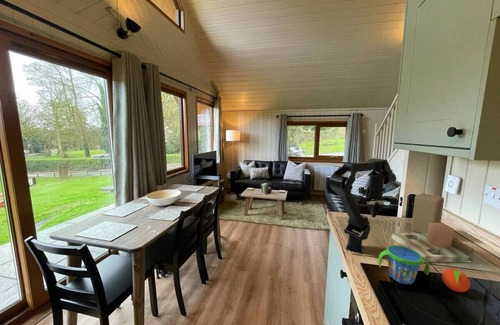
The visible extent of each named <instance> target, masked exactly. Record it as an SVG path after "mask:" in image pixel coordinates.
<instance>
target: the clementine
mask: <svg viewBox="0 0 500 325" xmlns="http://www.w3.org/2000/svg"><path fill="white" fill-rule="evenodd" d="M441 278H442V281H443V283H444V285H445V286H446V287H447V288H449V289H450V290H452V291H453V292H457V293H464V292H467V291H468V290H470V287H471V280H470V278H469V277H468V276H467V275H466V274H465V273H464V272H462V271H461V270H460V269H456V268H447V269H445V270H444V271H443V272H442V275H441Z"/></svg>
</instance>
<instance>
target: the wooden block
mask: <svg viewBox="0 0 500 325" xmlns="http://www.w3.org/2000/svg"><path fill="white" fill-rule="evenodd" d="M444 203H445V198H444V197H443V196H438V195H432V194H428V193H424V192H423V193H420V194H417V195H415V197H414V204H413V209H412V210H413V212H412V220H411V227H410V228H411V231H413V232H415V233H417V234H428V227H429V223H442V217H443V209H444Z"/></svg>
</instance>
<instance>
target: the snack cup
mask: <svg viewBox="0 0 500 325" xmlns="http://www.w3.org/2000/svg"><path fill="white" fill-rule="evenodd" d="M384 256H387V260H388V261H387V263H388V264H387V265H388V275H389V276H390V278H392V279H393V281H396V282H398V284H402V285H403V284H404V285H410V286H412V284H413V283H414V282H415V281H416V277H417V275H418V272H419V269H420V267H421V265H422V264H423V260H424V261H425V262H424V263H425V266H424V269H423V272H424V274H425V276H429V274H430V268H431V267H430V264H429V262H427V260H426V259H425V258H424V257H422V256H421V255H420V254H419V253H417V252H416V251H414V250H411V249H409V248H406V247H403V246H402V245H388V246H387V248H386V249H384V250H383V251H381V252H380V254H379V255H378V258H377V264H378V266H379V268H382V260H383V257H384Z"/></svg>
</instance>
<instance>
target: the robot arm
mask: <svg viewBox="0 0 500 325" xmlns="http://www.w3.org/2000/svg"><path fill="white" fill-rule="evenodd" d="M368 171H370V172H369V173H367V176H368V177H369V185H367V186H366V188H365V187H364V186H362V187H361V186H360V187H358V195H356V194H355V195H353V194H352V190H353V184H354V183H355V182H356V174H357V173H361V172H368ZM347 172H348V173H349V174H350V175H349V176H344V175H345V174H346V173H347ZM396 181H397V176H396V174H395V173H394V172H393V169H391V165H390V163H389V162H388V160H387V159H384V158H374V157H372V158H369V159H367V160H366V161H353V162H349V161H347V162H345V163H344V164H343V165H342V166H341V167H339V168H338V169H336V170H335V171H334V172H333V173H332V175H331V176H330V177H329V179H328V185H329V187H330V188H331V190H332V191H333V192H335V194H337V195H338V197H339V199H340V201H341V203H342V206H343V207H344V210H345V211H346V213H347V216H348V220H347V224H346V225H345V226H344V228H343V232H344V234H346V235H348V240H347V244H346V246H345V249H346V250H348V251H351V250H352V251H351V252H354V251H356V252H355V253H358V252H359V254H362V253H363V249H364V246H363V241H365V240H367V239H368V237H369V234H370V231H371V225H370V224H371V222H370V220H369V218H368V216H366V215H364V214H361V212H360V210H359V208H358V205H361V206H362V205H363V206H364V205H367V207H368V210H369V212H370V215H371V218H376V217H377V215H378V214H379V212H381V211H382V209H383V208H384V207H386V206H387V205H386V204H385V203H390V205H392V206H398V205H399V199H398V198H397V197H394V196H392V195H384V192H386V189H385V188H384V185H389V184H394V183H395V182H396Z"/></svg>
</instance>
